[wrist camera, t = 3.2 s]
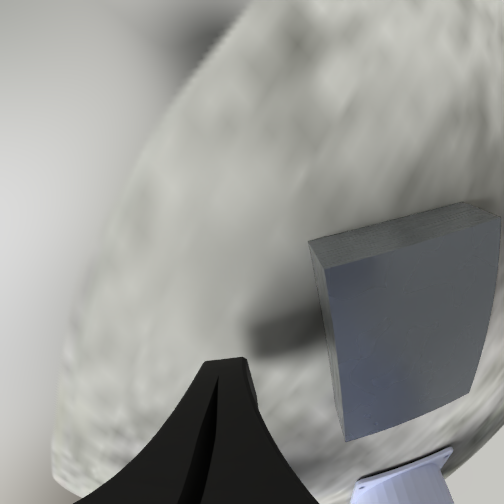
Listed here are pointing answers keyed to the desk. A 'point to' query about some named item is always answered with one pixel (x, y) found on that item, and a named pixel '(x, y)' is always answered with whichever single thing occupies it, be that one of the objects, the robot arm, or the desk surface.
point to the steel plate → (406, 312)
